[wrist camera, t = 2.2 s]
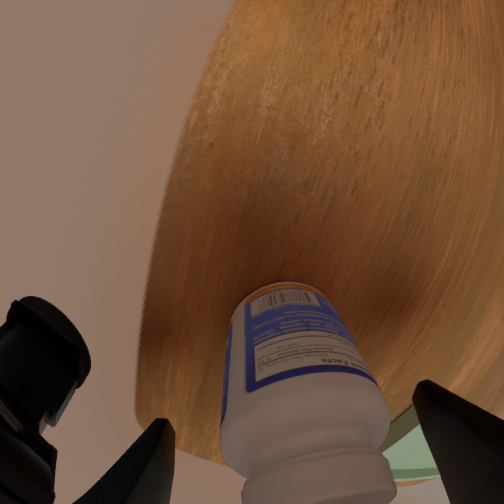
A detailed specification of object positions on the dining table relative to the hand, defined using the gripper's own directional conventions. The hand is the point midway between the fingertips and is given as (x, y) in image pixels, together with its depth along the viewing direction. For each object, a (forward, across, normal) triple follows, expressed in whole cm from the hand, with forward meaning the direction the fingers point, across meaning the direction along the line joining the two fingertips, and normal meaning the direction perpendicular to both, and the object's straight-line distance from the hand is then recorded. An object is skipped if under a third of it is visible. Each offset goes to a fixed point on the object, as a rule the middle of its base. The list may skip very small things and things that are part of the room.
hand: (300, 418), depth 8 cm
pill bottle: (+6, 0, 0) cm, 6 cm away
